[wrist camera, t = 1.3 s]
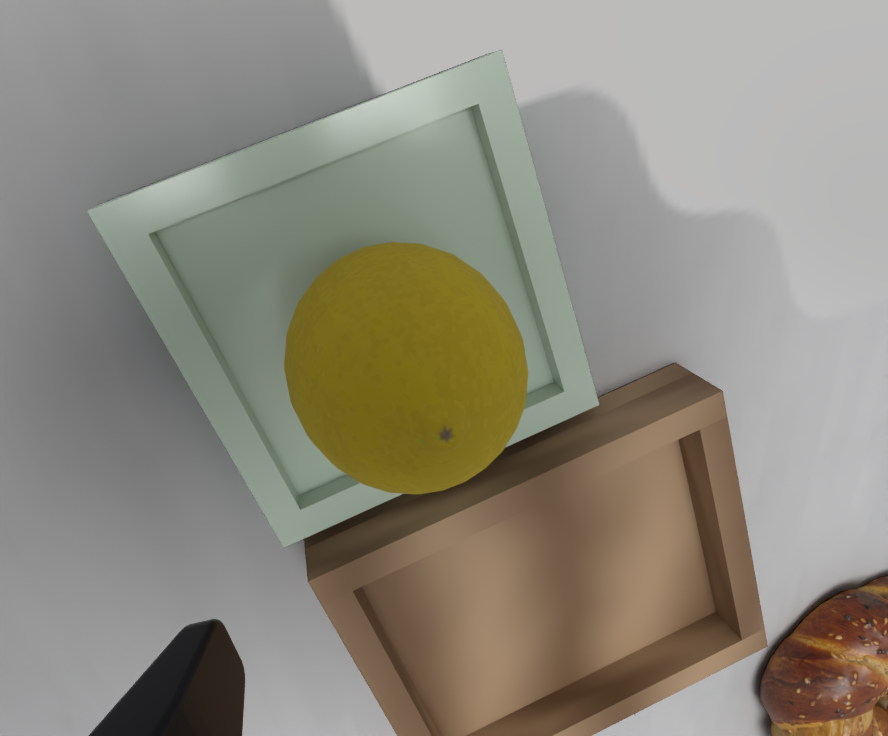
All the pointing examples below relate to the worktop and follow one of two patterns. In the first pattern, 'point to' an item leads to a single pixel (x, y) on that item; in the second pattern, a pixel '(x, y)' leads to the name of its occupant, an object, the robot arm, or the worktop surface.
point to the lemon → (406, 368)
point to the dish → (330, 238)
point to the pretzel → (833, 669)
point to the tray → (554, 574)
